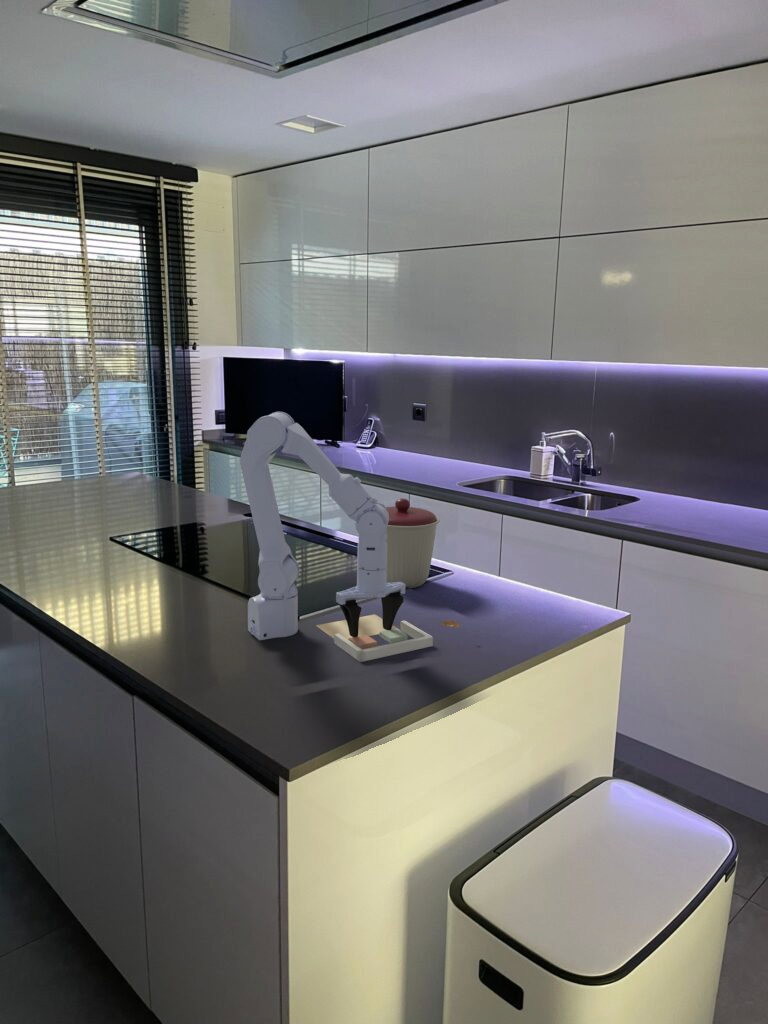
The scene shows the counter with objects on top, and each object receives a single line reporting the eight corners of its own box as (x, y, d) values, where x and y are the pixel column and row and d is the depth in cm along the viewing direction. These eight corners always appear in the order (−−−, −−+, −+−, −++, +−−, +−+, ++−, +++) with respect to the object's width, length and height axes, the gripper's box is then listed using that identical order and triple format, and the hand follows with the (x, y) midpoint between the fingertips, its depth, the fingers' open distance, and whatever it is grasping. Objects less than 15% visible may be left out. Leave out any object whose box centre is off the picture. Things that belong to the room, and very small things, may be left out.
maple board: (338, 647, 149) (338, 642, 149) (315, 631, 158) (315, 625, 157) (400, 635, 156) (400, 629, 156) (374, 619, 165) (374, 614, 165)
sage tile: (390, 646, 149) (390, 638, 149) (379, 639, 153) (379, 631, 152) (407, 642, 151) (407, 635, 151) (396, 635, 155) (397, 628, 154)
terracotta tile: (358, 652, 146) (358, 645, 145) (348, 645, 149) (348, 638, 149) (376, 649, 148) (376, 641, 147) (366, 641, 151) (366, 634, 151)
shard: (439, 614, 170) (440, 607, 170) (474, 618, 168) (474, 610, 168) (430, 632, 160) (430, 624, 160) (466, 636, 158) (467, 628, 158)
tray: (359, 668, 140) (360, 652, 140) (334, 648, 149) (334, 634, 148) (432, 651, 149) (433, 636, 148) (404, 634, 157) (404, 620, 156)
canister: (443, 576, 196) (447, 494, 192) (428, 598, 179) (431, 509, 175) (375, 569, 201) (376, 489, 196) (353, 590, 184) (355, 503, 179)
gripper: (349, 577, 142) (348, 646, 145) (414, 566, 150) (412, 633, 153) (331, 567, 148) (330, 634, 151) (395, 557, 156) (393, 621, 159)
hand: (370, 632), depth 152 cm, fingers open, 7 cm apart
